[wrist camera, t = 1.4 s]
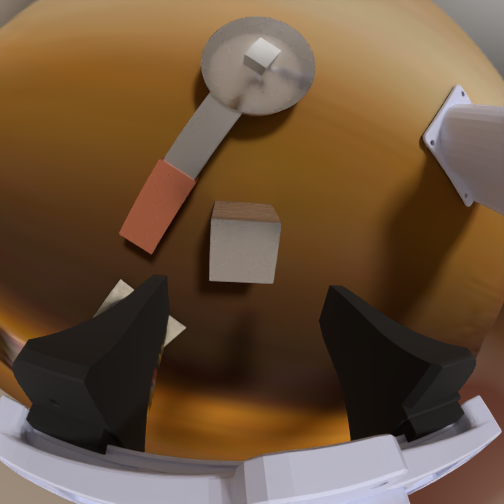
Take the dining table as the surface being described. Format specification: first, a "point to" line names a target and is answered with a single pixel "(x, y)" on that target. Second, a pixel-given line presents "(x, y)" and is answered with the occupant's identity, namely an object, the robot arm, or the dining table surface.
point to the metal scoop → (223, 112)
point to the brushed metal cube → (243, 242)
